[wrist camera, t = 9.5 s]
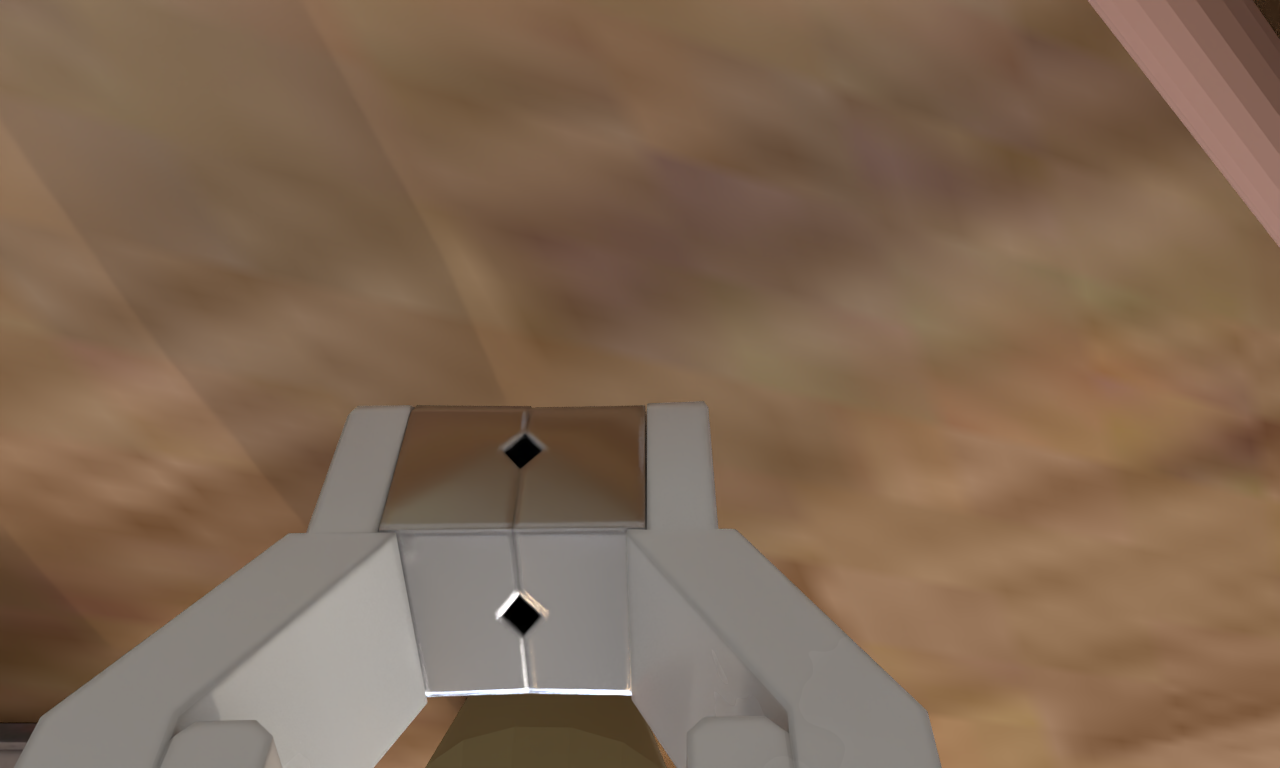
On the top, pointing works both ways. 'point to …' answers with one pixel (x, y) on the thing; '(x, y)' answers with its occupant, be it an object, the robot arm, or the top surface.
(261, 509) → the top surface
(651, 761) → the squeeze bottle
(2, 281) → the top surface
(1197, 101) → the pizza cutter
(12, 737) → the book
